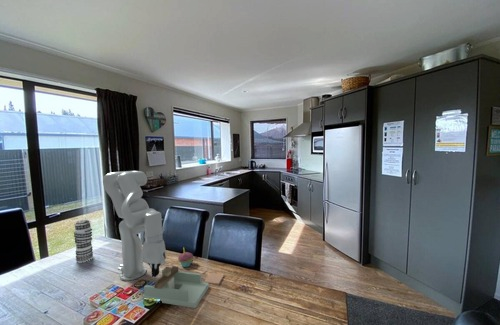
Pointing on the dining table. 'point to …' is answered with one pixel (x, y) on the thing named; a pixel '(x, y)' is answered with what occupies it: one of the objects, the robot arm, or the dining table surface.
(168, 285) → the cream block
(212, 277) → the terracotta coaster
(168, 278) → the latch bar
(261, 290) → the dining table surface
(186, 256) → the cupcake
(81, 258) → the stacked grey column
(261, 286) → the dining table surface
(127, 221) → the robot arm
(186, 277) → the puzzle board
